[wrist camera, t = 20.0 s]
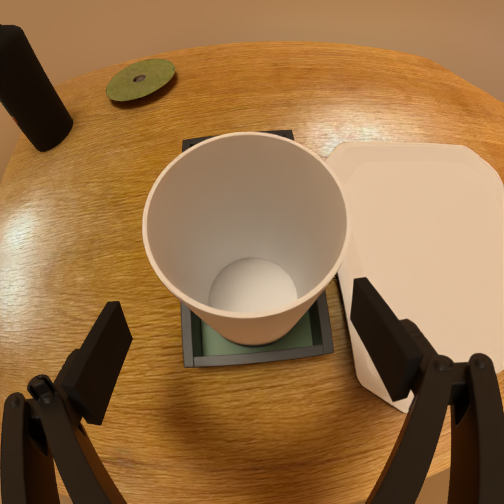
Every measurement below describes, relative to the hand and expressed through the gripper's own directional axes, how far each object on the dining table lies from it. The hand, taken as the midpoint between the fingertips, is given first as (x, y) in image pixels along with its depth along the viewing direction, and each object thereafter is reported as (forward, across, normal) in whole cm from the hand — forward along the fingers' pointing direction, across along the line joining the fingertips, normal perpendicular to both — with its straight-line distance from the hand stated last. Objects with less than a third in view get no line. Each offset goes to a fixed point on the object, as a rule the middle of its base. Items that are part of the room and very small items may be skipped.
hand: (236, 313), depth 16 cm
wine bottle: (+30, -28, +14) cm, 43 cm away
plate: (+11, +23, -4) cm, 26 cm away
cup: (+9, +1, -5) cm, 10 cm away
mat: (+34, -13, +18) cm, 41 cm away
